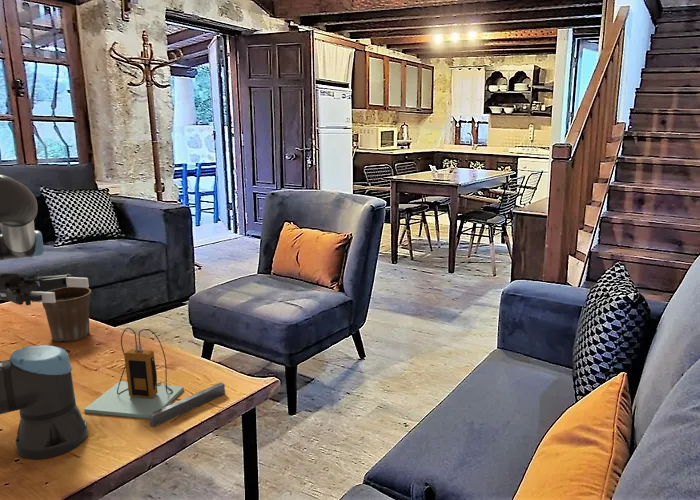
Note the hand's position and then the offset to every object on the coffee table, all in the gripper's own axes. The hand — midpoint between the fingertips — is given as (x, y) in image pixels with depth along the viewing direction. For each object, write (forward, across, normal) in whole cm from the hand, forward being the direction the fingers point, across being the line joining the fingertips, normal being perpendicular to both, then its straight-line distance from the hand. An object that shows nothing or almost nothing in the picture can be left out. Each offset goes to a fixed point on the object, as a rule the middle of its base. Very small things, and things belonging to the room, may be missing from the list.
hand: (71, 289), depth 149 cm
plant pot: (-31, -36, -30) cm, 56 cm away
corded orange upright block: (+19, -2, -29) cm, 35 cm away
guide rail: (+34, +4, -30) cm, 46 cm away
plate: (+18, +3, -30) cm, 35 cm away
